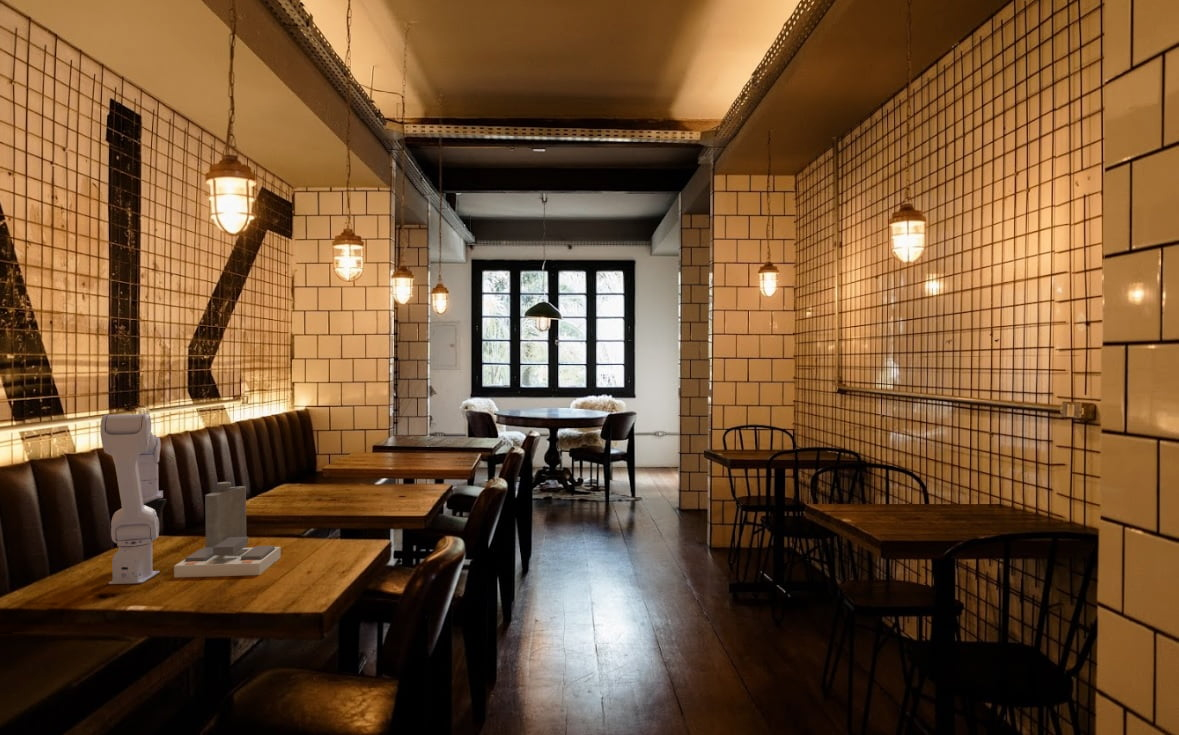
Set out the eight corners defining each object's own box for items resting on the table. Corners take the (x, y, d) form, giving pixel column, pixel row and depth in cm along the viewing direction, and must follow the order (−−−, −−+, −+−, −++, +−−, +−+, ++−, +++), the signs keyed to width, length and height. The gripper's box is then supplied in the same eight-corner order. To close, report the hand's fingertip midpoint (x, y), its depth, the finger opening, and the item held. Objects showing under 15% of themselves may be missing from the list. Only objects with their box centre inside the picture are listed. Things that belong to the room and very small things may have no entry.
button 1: (205, 565, 195) (205, 557, 195) (185, 566, 195) (185, 558, 195) (222, 554, 206) (222, 546, 206) (203, 555, 206) (203, 547, 206)
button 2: (260, 564, 196) (260, 556, 196) (241, 564, 196) (240, 556, 196) (274, 553, 207) (274, 545, 207) (255, 553, 207) (255, 546, 207)
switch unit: (259, 574, 193) (259, 562, 193) (174, 577, 191) (174, 564, 191) (280, 557, 210) (280, 546, 210) (202, 559, 208) (202, 548, 208)
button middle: (233, 555, 196) (232, 546, 196) (213, 555, 195) (213, 547, 195) (248, 544, 207) (248, 536, 207) (229, 545, 206) (229, 537, 206)
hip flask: (213, 558, 209) (212, 487, 209) (200, 557, 210) (199, 486, 210) (248, 544, 225) (248, 478, 225) (236, 543, 226) (235, 477, 225)
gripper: (148, 483, 197) (149, 534, 197) (173, 475, 211) (174, 522, 211) (120, 484, 196) (120, 535, 196) (147, 475, 211) (148, 523, 211)
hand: (146, 529), depth 204 cm, fingers open, 7 cm apart
